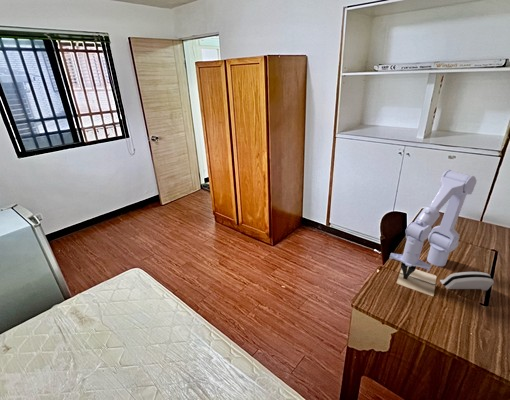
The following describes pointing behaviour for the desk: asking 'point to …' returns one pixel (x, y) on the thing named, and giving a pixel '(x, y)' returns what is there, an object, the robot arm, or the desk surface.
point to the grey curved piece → (468, 281)
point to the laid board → (422, 276)
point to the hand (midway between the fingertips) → (405, 277)
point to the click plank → (416, 285)
